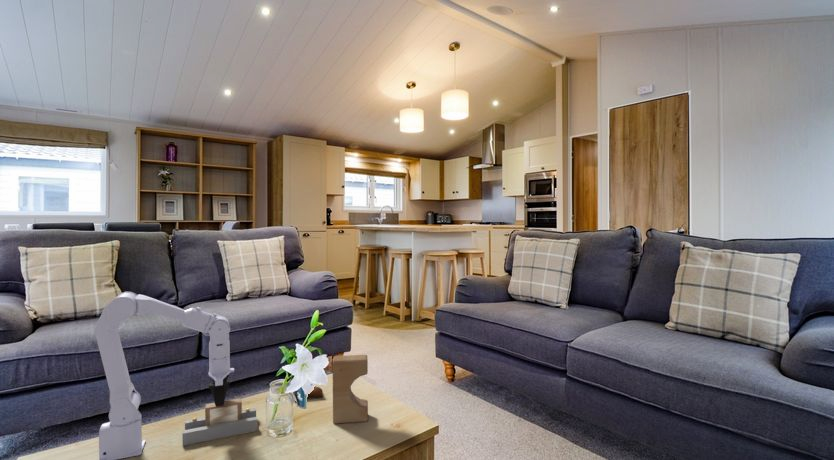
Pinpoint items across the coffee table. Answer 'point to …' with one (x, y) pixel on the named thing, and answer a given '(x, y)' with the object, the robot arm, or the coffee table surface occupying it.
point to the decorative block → (348, 389)
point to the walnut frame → (223, 412)
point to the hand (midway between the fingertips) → (220, 400)
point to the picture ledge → (218, 428)
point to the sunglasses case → (316, 392)
